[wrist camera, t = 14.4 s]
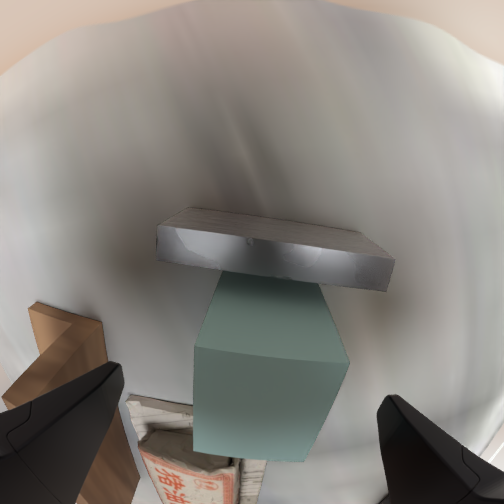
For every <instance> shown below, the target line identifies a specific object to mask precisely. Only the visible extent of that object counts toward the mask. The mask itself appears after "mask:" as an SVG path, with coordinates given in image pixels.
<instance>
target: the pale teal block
mask: <svg viewBox="0 0 504 504" xmlns="http://www.w3.org/2000/svg"><path fill="white" fill-rule="evenodd" d="M349 364H350V361H349V359H348V356H347V354H346V351H345V349H344V346H343V343H342V341H341V338H340V336H339V333H338V331H337V328H336V326H335V323H334V321H333V319H332V316H331V314H330V311H329V309H328V306H327V304H326V302H325V299H324V297H323V294H322V292H321V290H320V287H319V285H318V283H311V282H304V281H296V280H288V279H281V278H273V277H266V276H259V275H252V274H245V273H238V272H231V271H224V270H223V272H222V274H221V277H220V280H219V282H218V285H217V287H216V290H215V293H214V295H213V298H212V301H211V303H210V306H209V309H208V311H207V314H206V316H205V319H204V322H203V325H202V327H201V330H200V333H199V335H198V338H197V341H196V343H195V347H194V380H193V451H196V452H202V453H207V454H213V455H220V456H227V457H235V458H244V459H254V460H267V461H287V462H304V461H305V459H306V457H307V455H308V453H309V451H310V449H311V448H312V446H313V444H314V442H315V440H316V438H317V436H318V434H319V432H320V430H321V428H322V426H323V424H324V422H325V420H326V418H327V415H328V413H329V411H330V409H331V407H332V405H333V402H334V400H335V398H336V396H337V393H338V391H339V389H340V386H341V384H342V382H343V379H344V377H345V374H346V372H347V369H348V367H349Z"/></svg>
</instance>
